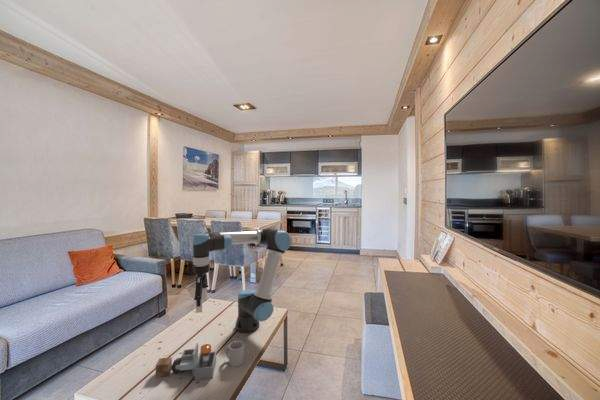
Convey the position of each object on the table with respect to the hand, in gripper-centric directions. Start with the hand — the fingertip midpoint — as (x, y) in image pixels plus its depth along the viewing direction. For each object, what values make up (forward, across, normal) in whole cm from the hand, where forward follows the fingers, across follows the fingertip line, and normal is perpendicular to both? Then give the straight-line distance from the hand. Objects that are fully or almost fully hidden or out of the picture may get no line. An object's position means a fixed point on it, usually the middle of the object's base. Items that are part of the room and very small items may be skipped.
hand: (201, 306), depth 131 cm
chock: (+29, +6, -16) cm, 34 cm away
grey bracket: (+29, +6, -7) cm, 30 cm away
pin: (+28, +7, +3) cm, 29 cm away
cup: (+29, +3, +16) cm, 33 cm away
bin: (+29, +7, +3) cm, 30 cm away
